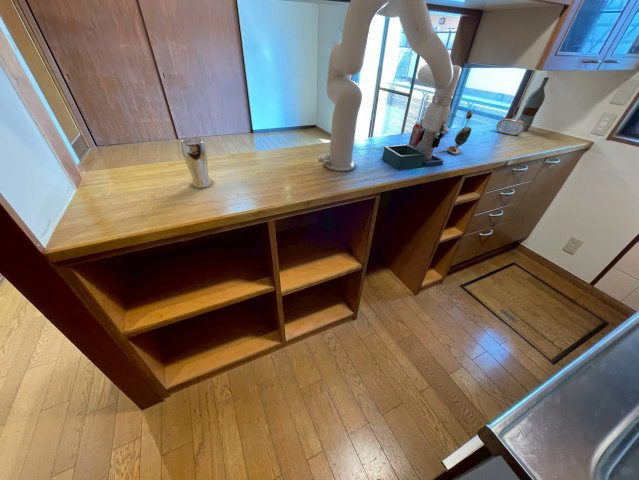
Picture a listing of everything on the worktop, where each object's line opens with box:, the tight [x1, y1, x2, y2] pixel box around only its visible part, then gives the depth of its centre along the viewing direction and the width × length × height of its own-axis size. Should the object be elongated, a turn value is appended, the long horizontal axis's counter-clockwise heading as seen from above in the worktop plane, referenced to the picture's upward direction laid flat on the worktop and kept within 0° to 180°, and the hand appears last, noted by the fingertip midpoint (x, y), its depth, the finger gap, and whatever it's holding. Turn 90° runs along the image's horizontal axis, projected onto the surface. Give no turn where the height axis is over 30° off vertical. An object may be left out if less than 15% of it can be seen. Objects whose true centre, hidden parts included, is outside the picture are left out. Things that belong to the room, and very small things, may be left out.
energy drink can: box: [419, 128, 439, 161], centre depth 118 cm, size 6×6×15 cm
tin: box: [496, 118, 525, 136], centre depth 164 cm, size 15×3×8 cm, turn 58°
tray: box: [422, 154, 445, 168], centre depth 122 cm, size 10×14×2 cm
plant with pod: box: [445, 110, 474, 155], centre depth 128 cm, size 8×11×20 cm
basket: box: [381, 143, 426, 171], centre depth 117 cm, size 13×13×6 cm
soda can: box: [408, 121, 422, 150], centre depth 132 cm, size 7×7×12 cm
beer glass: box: [180, 137, 212, 189], centre depth 88 cm, size 7×7×15 cm
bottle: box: [516, 76, 550, 132], centre depth 169 cm, size 9×9×30 cm
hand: (428, 143), depth 118 cm, fingers open, 8 cm apart
